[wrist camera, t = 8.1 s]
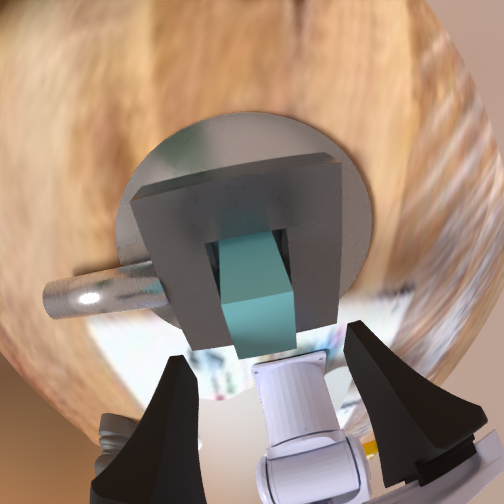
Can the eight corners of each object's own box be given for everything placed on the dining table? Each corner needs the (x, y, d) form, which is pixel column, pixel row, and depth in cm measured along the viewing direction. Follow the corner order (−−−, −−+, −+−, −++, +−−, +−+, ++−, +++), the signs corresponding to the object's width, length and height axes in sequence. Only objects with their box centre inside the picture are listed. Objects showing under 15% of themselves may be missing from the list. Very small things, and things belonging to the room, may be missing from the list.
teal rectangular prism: (273, 269, 19) (296, 348, 13) (231, 277, 19) (238, 359, 13) (266, 218, 17) (293, 291, 11) (218, 227, 17) (220, 304, 11)
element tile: (328, 454, 59) (331, 468, 55) (376, 438, 59) (380, 450, 55) (327, 462, 67) (330, 473, 63) (369, 448, 67) (373, 459, 63)
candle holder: (130, 430, 36) (126, 552, 15) (97, 419, 34) (87, 544, 12) (142, 422, 34) (140, 560, 13) (106, 410, 31) (95, 552, 10)
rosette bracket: (356, 308, 24) (373, 339, 21) (111, 349, 24) (103, 381, 20) (364, 101, 14) (400, 106, 11) (22, 183, 14) (-10, 205, 11)
